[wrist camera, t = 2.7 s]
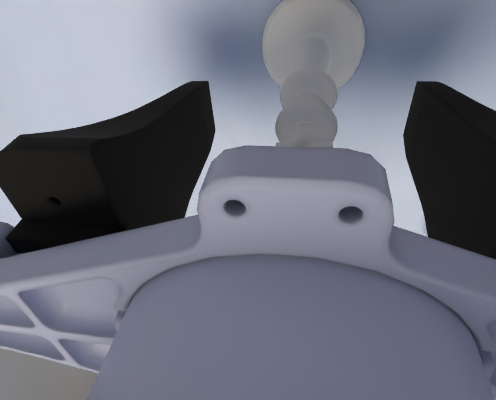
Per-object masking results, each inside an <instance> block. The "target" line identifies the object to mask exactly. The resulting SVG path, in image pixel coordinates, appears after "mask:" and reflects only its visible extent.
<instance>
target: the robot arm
mask: <svg viewBox="0 0 496 400" xmlns="http://www.w3.org/2000/svg"><path fill="white" fill-rule="evenodd" d="M214 134H215V124H214V117H213V110H212V103H211V96H210V89H209V82H208V81H191V82H188V83H186V84H184V85H182V86H180V87H178V88H176V89H174V90H172V91H171V92H169V93H167V94H165V95H163V96H162V97H160V98H158V99H156V100H154V101H152V102H150V103H148V104H146V105H144V106H142V107H140V108H138V109H135V110H133V111H131V112H128V113H126V114H123V115H120V116H117V117H115V118H112V119H108V120H104V121H101V122H97V123H94V124H90V125H86V126H81V127H77V128H71V129H66V130H60V131H53V132H44V133H34V134H24V135H19V136H18V137H17V138H16V139H14V140H13V141H12V142H11V143H10V144H9V145H7V146H6V147H5V148H4V149H3V150H2V151H0V187H1V189H2V190H3V192H4V193H5V195H6V196H7V198H8V199H9V201H10V202H11V204H12V205H13V206H14V208H15V209H16V211H17V212H18V214H19V215H20V217H21V218H22V220H21V221H20V222H19V223H18V224H17V225H16V226H15V228H14V227H13V226H12V225H10V224H8V223H4V222H0V348H2V349H7V350H11V351H17V352H20V353H24V354H28V355H33V356H36V357H40V358H44V359H47V360H51V361H55V362H58V363H62V364H66V365H69V366H73V367H77V368H80V369H84V370H88V371H91V372H95V373H98V375H97V377H96V380H95V382H94V384H93V386H92V388H91V390H90V393H89V395H88V397H87V399H86V400H496V111H495V110H492V109H490V108H488V107H486V106H484V105H482V104H480V103H478V102H476V101H475V100H473V99H471V98H469V97H467V96H465V95H464V94H462V93H460V92H458V91H456V90H454V89H453V88H451V87H449V86H447V85H445V84H442V83H440V82H432V81H417V83H416V87H415V91H414V95H413V99H412V102H411V106H410V110H409V114H408V118H407V122H406V126H405V130H404V134H403V137H404V146H405V153H406V158H407V161H408V165H409V168H410V171H411V174H412V177H413V180H414V183H415V186H416V189H417V192H418V195H419V198H420V201H421V204H422V208H423V212H424V217H425V222H426V228H427V234H428V237H426V236H423V235H420V234H417V233H414V232H411V231H408V230H404V229H401V228H398V227H395V226H393V224H394V214H393V204H392V199H391V194H390V189H389V185H388V180H387V175H386V170H385V168H384V167H383V166H382V165H380V164H379V163H378V162H377V161H376V160H375V159H374V158H373V157H372V156H371V155H370V154H366V153H362V152H358V151H354V150H350V149H341V148H309V147H276V146H241V147H236V148H232V149H227V150H224V151H223V152H222V153H221V154H220V155H219V156H218V157H216V158H215V159H214V160H213V161H212V162H211V164H210V167H209V169H208V172H207V174H206V177H205V179H204V182H203V185H202V187H201V190H200V192H199V199H198V206H197V212H198V215H195V216H190V217H186V218H185V214H186V211H187V207H188V204H189V200H190V198H191V195H192V192H193V190H194V188H195V185H196V183H197V181H198V178H199V176H200V174H201V172H202V169H203V167H204V165H205V162H206V160H207V158H208V155H209V153H210V150H211V147H212V143H213V139H214Z"/></svg>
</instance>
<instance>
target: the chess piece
mask: <svg viewBox="0 0 496 400" xmlns="http://www.w3.org/2000/svg"><path fill="white" fill-rule="evenodd" d="M364 44H365V30H364V25H363V21H362V18H361V16H360V14H359V12H358V10H357V9H356V7H355V6H354V5H353V4H352V3H351V2H350V1H349V0H283V1H282V2H281V3H280V4H279V5H278V6H277V7H276V8H275V9H274V11H273V12H272V13H271V15H270V17H269V19H268V21H267V23H266V25H265V28H264V32H263V38H262V52H263V59H264V63H265V66H266V68H267V70H268V72H269V74H270V76H271V77H272V78H273V80H274V81H275V82H276V83H277V84H278V85H279V86H281V91H280V100H281V104H282V106H283V110H282V111H281V112H280V114H279V116H278V118H277V121H276V126H275V129H276V135H277V138H278V140H279V141H280V142H279V143H276V147H309V148H333V140H334V138H335V136H336V133H337V120H336V117H335V115H334V113H333V111H332V109H333V108H334V106H335V104H336V101H337V95H338V92H337V88H339V87H340V86H342V85H343V84H344V83H346V82H347V81H348V80H349V79H350V77H351V76H352V75H353V74H354V72H355V71H356V69H357V67H358V65H359V63H360V61H361V58H362V55H363V50H364Z"/></svg>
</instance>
